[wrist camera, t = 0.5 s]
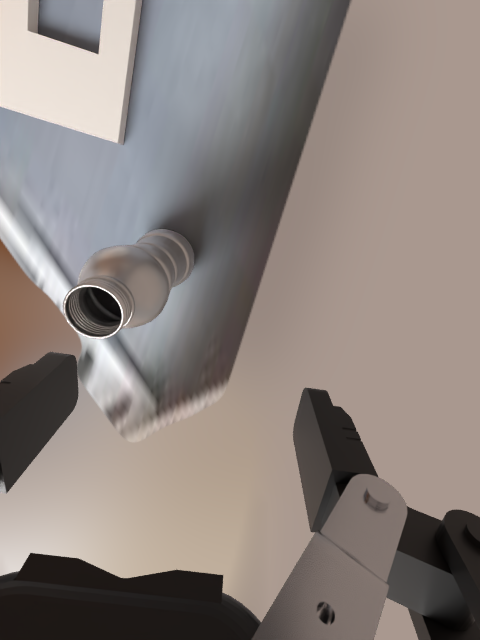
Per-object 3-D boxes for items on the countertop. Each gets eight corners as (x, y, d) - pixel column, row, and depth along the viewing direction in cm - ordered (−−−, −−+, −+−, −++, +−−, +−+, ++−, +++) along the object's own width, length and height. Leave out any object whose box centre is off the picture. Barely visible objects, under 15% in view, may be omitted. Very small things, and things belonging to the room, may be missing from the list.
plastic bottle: (198, 282, 39) (153, 361, 20) (143, 280, 39) (48, 358, 20) (197, 227, 36) (145, 260, 18) (138, 225, 36) (26, 257, 18)
